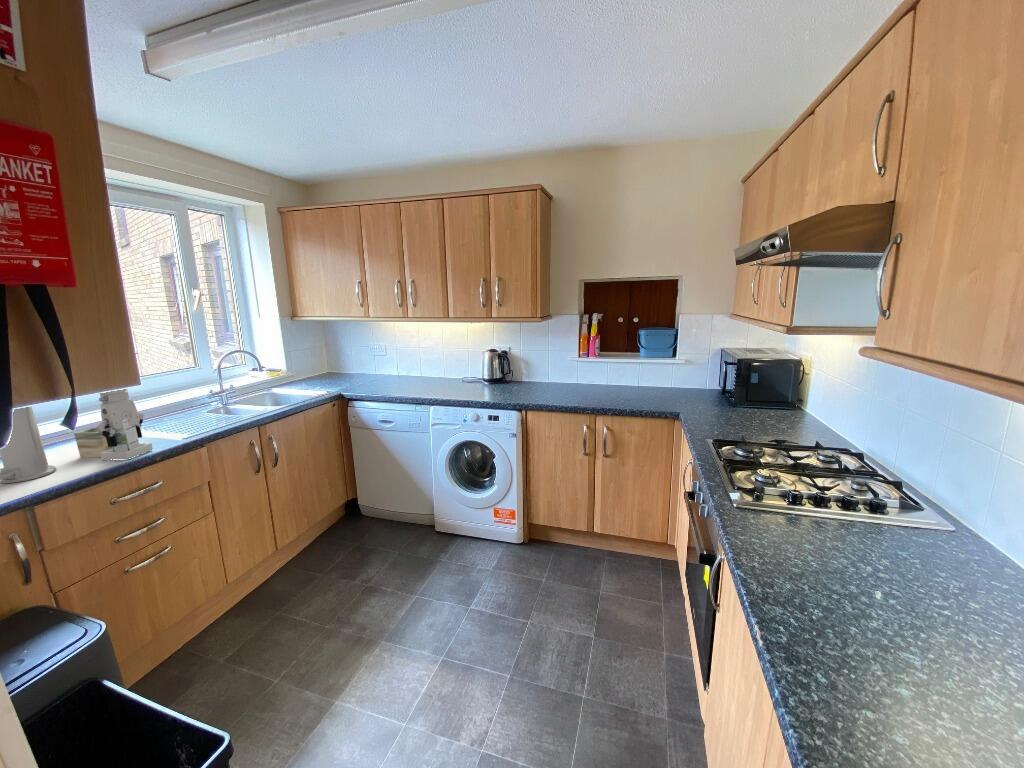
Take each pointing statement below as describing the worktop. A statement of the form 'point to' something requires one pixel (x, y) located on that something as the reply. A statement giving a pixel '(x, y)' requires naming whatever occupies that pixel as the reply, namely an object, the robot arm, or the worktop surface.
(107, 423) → the robot arm
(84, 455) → the raised stand
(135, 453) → the grey collar
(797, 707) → the worktop surface
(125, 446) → the syrup box
